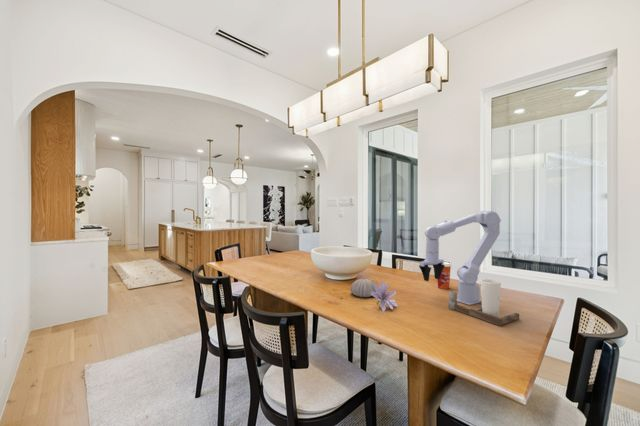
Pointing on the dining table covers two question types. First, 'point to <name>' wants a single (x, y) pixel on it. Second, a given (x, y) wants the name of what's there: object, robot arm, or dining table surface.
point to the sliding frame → (479, 312)
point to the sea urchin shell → (362, 288)
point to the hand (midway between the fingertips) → (431, 279)
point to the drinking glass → (490, 296)
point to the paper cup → (444, 277)
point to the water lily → (384, 296)
